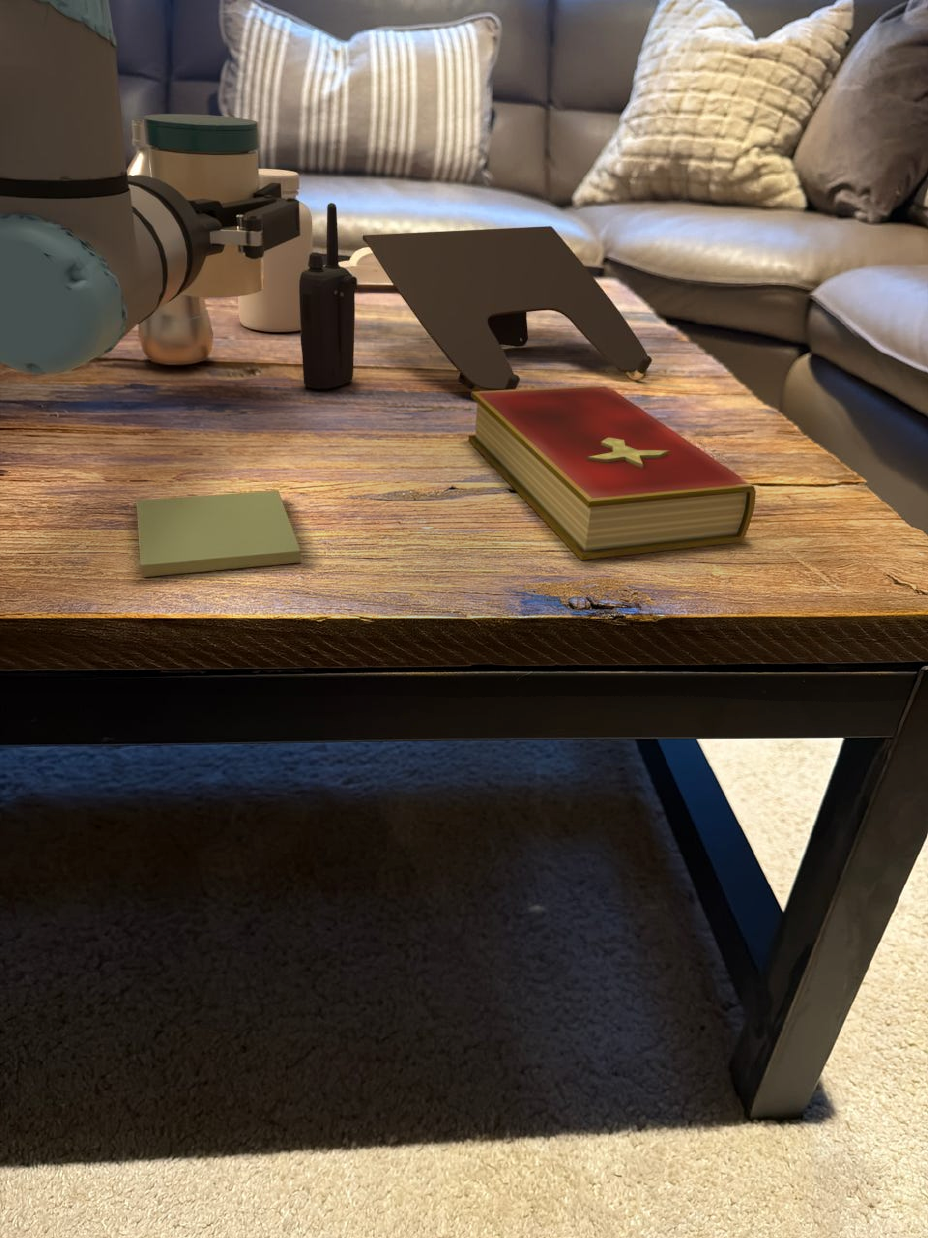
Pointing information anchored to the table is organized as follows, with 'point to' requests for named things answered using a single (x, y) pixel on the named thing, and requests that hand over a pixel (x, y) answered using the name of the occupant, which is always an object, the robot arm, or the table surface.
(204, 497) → the coaster
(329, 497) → the table surface
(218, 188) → the jar
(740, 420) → the table surface
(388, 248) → the laptop tray
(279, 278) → the pill bottle
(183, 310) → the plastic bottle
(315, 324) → the two-way radio
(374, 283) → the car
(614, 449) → the hardcover book
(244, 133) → the jar lid
